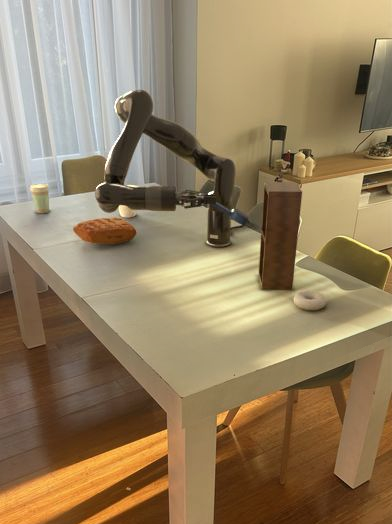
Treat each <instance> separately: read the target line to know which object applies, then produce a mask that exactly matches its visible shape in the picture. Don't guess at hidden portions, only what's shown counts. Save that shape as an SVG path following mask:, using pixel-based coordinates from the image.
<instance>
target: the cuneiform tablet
mask: <svg viewBox="0 0 392 524" xmlns="http://www.w3.org/2000/svg"><path fill="white" fill-rule="evenodd" d="M72 231H73V232H74V233H75V235H76V236H77V237H78V238H80V239H81V240H82V241H84V242H87V243H90V244H97V245H99V244H100V245H115V244H122V243H125V242H129V241H131V240H132V239H134V238H135V237H136V236H137V234H138V233H137V229H136V227H135V226H133V225H132V224H131V223H130V222H128V221H126V219H123V218H118V217H117V216H115V217H100V218H95V219H88V220H83V221H80V222H78V223H77V224H76V225H74V226H73V228H72Z"/></svg>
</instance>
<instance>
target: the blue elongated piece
mask: <svg viewBox="0 0 392 524" xmlns="http://www.w3.org/2000/svg"><path fill="white" fill-rule="evenodd" d="M202 193H203V192H202ZM202 193H201V194H200V195H199V196H205V195H204V194H205V193H203V194H202ZM210 205H212V206H214V207H215V208H217V209H219V210H220V211H222V212H224V213H225V214H227V215H229V216H230V217H231V220H233V221H235V222H236V223H237V224H240V225H245V224H246V223H247V221H248V220H249V221H250V217H249V216H248V215H247V214H246V213H245V212H243V211H242V210H240V209H239V208H236V207H233V208H232V209H231V211H230V210H229V209H227V208H225V207H224V206H222V205H220V204H219V203H217V202H216V204H210ZM247 224H248V223H247ZM247 224H246V225H247ZM246 225H245V226H246Z"/></svg>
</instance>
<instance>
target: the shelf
mask: <svg viewBox="0 0 392 524" xmlns="http://www.w3.org/2000/svg"><path fill="white" fill-rule="evenodd" d="M263 186H264V187H263V200H262V213H261V214H262V216H261V227H260V228H261V230H260V231H261V232H260V244H259V245H260V246H259V257H258V258H259V260H258V262H259V263H258V272H257V273H258V279H259V280H258V281H259V283H260V287H261V290H262V291H266V290H267V291H275V290H276V291H293V286H294V276H295V269H296V259H297V258H296V256H297V248H298V238H299V237H298V236H299V228H300V218H301V209H302V199H303V191H302V189H301V188H300V186H299V185H298V183H297V182H296V181H264V185H263Z"/></svg>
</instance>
